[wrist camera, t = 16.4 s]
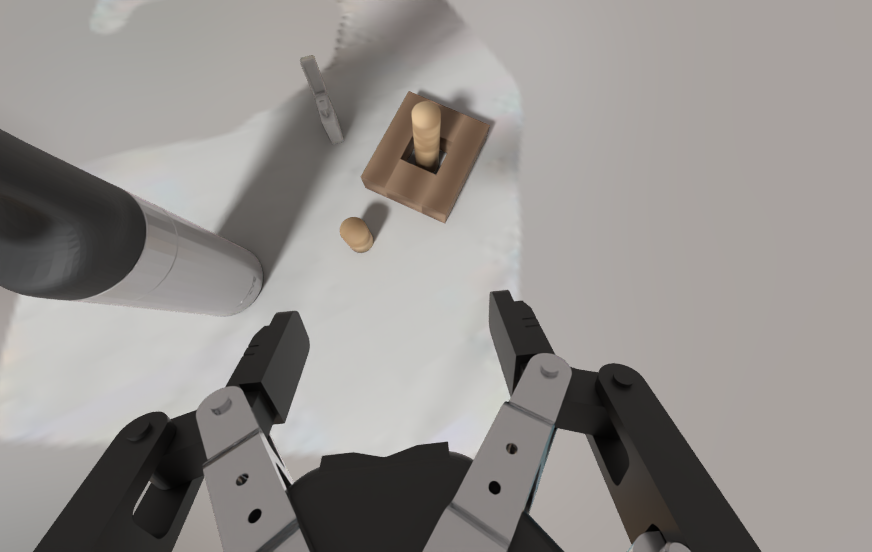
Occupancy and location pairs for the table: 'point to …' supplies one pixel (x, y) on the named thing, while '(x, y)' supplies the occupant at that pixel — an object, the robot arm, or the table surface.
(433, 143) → the long pin
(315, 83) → the lighter
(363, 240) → the short pin
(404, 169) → the hole plate
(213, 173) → the table surface
